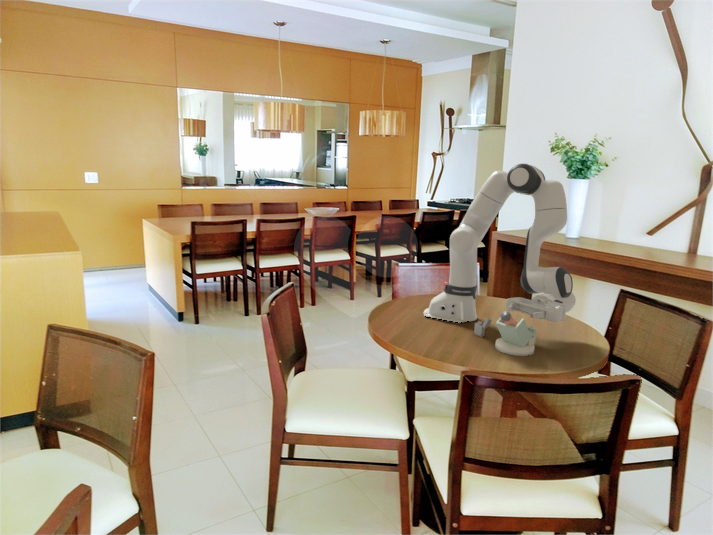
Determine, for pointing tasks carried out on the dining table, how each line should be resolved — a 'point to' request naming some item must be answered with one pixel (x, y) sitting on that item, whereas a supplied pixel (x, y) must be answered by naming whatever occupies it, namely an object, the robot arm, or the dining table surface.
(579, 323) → the dining table surface
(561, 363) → the dining table surface
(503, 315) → the marker
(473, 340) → the dining table surface
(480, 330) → the lighter
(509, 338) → the green holder stand
